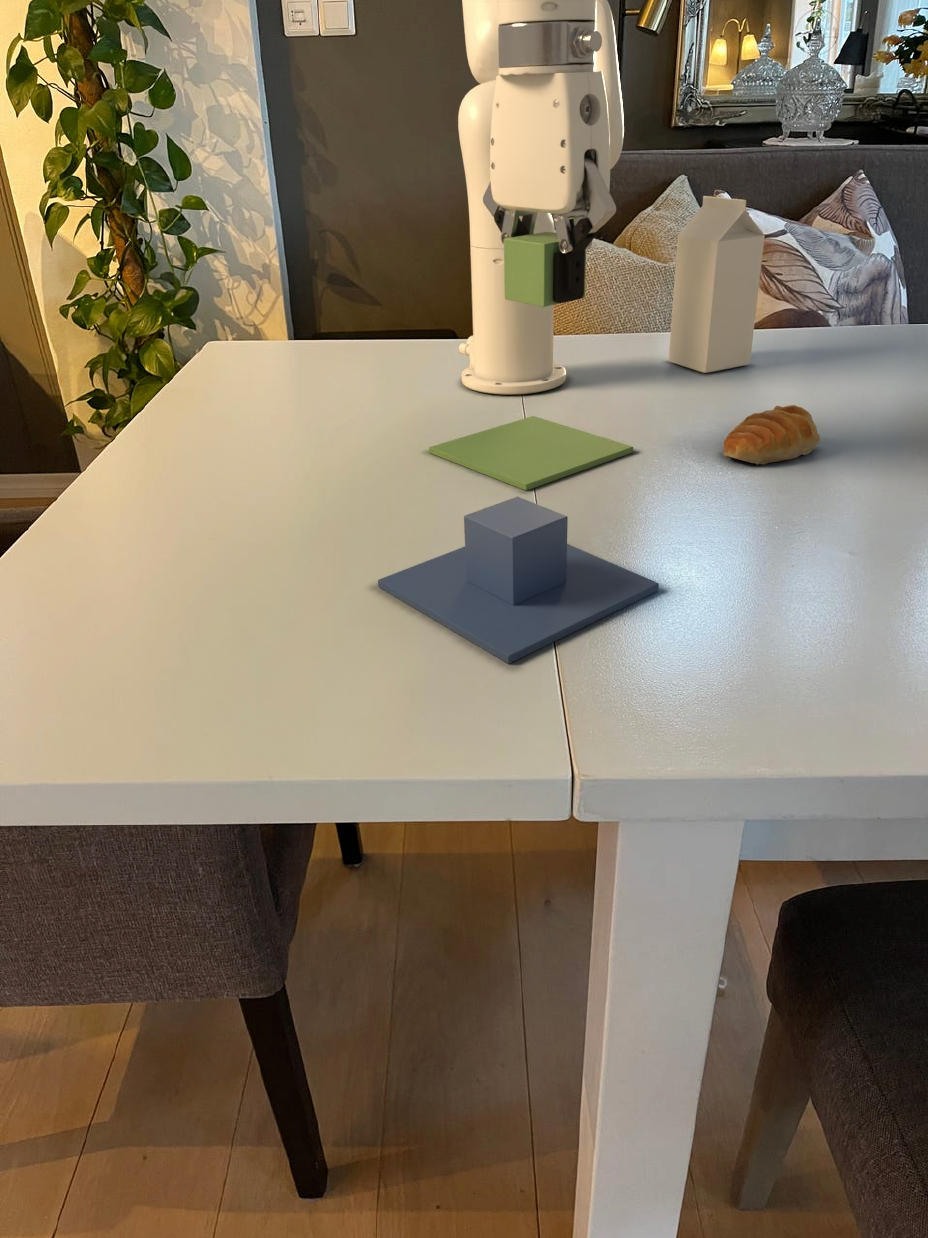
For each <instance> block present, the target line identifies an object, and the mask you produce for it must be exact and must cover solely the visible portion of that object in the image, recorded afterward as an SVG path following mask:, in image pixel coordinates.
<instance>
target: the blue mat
mask: <svg viewBox="0 0 928 1238" xmlns="http://www.w3.org/2000/svg"><path fill="white" fill-rule="evenodd" d="M377 585H378V588H379V589H381V590H382V591H384V592H386V593H387V594H389V595H391V596H393V597H394V598H396V599H397V600H400V601H401V602H403V603H405V604H407V605H408V606H410V607H412V608H413V609H415V610H417V611H418V612H420V613H422V614H424V615H425V616H427V617H428V618H429V619H432V620H434V621H435V622H436V623H439V624H440V625H442V626H443V627H445V628H447V629H448V630H450V631H452V632H454V633H456V634H457V635H459V636H461V637H462V638H464V639H465V640H467V641H469V642H470V643H472V644H474V645H476V646H478V647H479V648H481V649H483V650H484V651H486V652H488V653H490V654H491V655H493V656H494V657H496V658H498V659H500V661H503V662H504V663H506V664H509V665H510V664H511V663H513V662H516V661H518V660H520V659H522V658H523V657H526V656H528V655H530V654H532V653H534V652H537V651H538V650H540V649H543V648H544V647H546V646H548V645H550V644H552V643H555V642H556V641H558V640H561V639H562V638H564V637H567V636H568V635H571V634H573V633H574V632H577V631H579V630H581V629H584V628H585V627H586V626H589V625H591V624H593V623H595V622H597V621H600V620H602V619H604V618H606V617H607V616H609V615H611V614H614V613H615V612H618V611H620V610H622V609H624V608H626V607H627V606H630V605H632V604H634V603H636V602H638V601H640V600H643V599H644V598H646V597H648V596H650V595H652V594H654V593H656V592H658V591H659V589H660V583H659V582H657V581H655V580H652V579H650V578H648V577H646V576H643V575H640V574H639V573H636V572H634V571H631V570H629V569H627V568H624V567H622V566H620V565H618V564H615V563H612V562H610V561H608V560H606V559H603V558H602V557H599V556H597V555H594V554H592V553H589V552H588V551H585V550H582V549H580V548H578V547H576V546H573V545H571V544H568V543H567V574H566V582H565V583H563V584H561V585H558V586H556V587H554V588H552V589H549V590H547V591H545V592H543V593H541V594H538V595H536V596H534V597H532V598H529V599H527V600H525V601H523V602H520V603H518V604H516V605H512V604H510V603H508V602H506V601H504V600H502V599H500V598H498V597H496V596H495V595H493V594H491V593H489V592H487V591H485V590H483V589H481V588H479V587H477V586H475V585H474V584H472V583H470V582H468V581H467V580H466V558H465V546H461V547H459V548H456V549H454V550H452V551H449V552H447V553H443V554H441V555H439V556H436V557H433V558H431V559H429V560H426V561H423V562H421V563H418V564H415V565H413V566H410V567H408V568H405V569H402V570H400V571H398V572H394V573H393V574H389V575H387V576H384V577H382V578H379V579H377Z"/></svg>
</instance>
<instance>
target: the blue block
mask: <svg viewBox="0 0 928 1238" xmlns="http://www.w3.org/2000/svg"><path fill="white" fill-rule="evenodd" d="M568 521H569V519H568V515H565V514H563V513H560V512H558V511H555V510H553V509H550V508H548V507H545V506H543V505H541V504H538V503H535V502H533V501H531V500H528V499H525V498H524V497H520V496H514V497H513V498H510V499H506V500H504V501H500V502H498V503H495V504H492V505H490V506H488V507H487V506H486V507H483V508H481V509H479V510H476V511H474V512H471V513H468V514H465V515H464V516H463V528H464V529H463V530H464V532H463V533H464V547H465V558H466V580H467V581H468V582H470V583H472V584H474V585H475V586H477V587H479V588H481V589H483V590H485V591H487V592H489V593H491V594H493V595H495V596H496V597H498V598H500V599H502V600H504V601H506V602H508V603H510V604H512V605H516V604H518V603H520V602H523V601H525V600H527V599H529V598H532V597H534V596H536V595H538V594H541V593H543V592H545V591H547V590H549V589H552V588H554V587H556V586H558V585H561V584H563V583H565V582H566V574H567V544H568V527H569V525H568V524H569V522H568Z"/></svg>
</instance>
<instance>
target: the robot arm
mask: <svg viewBox="0 0 928 1238" xmlns="http://www.w3.org/2000/svg"><path fill="white" fill-rule="evenodd" d="M461 2H462V3H461V5H462V16H463V28H464V41H465V51H466V57H467V61H468V62H467V63H468V66H469V68H470V72H471V74H472V76H473V78H474V79H475V81H476V82H477V83H478V85H476V86H474V87H473V88H471V89H470V90H469V91H468V92H467V93H466V94H465V95H464V97H463V99H462V101H461V103H460V105H459V110H458V115H457V123H458V124H457V127H458V128H457V129H458V137H459V144H460V151H461V156H462V163H463V169H464V175H465V183H466V192H467V203H468V217H469V218H468V219H469V241H470V243H469V244H470V276H471V307H472V308H471V309H472V310H471V311H472V335H470V336H469V337H467V340H466V343H465V342H462V343H460V344H459V346H458V352H459V354H461V355H463V356H469V366H467V367H466V368H465V369H463V370H462V372H461V383H462V385H463V386H465V387H466V388H467V389H469V390H472V391H476V392H480V393H485V394H494V395H527V394H536V393H541V392H546V391H549V390H553V389H557V388H558V387H560V386H562V385H563V384H564V383H565V382H566V380H567V370H566V368H565V367H564V366H562V365H561V364H558V363H556V362H554V325H555V323H554V322H555V321H554V316H555V314H554V313H555V311H554V310H555V305H550V306H546V307H542V306H537V305H532V304H527V303H522V302H516V301H511V300H506V299H505V285H504V239H505V238H511V237H517V236H523V235H529V234H535V233H541V232H552V233H556V234H557V240H558V246H559V250H560V252H557V253H554V261H553V300H554V302H555V303H559V304H565V303H570V302H575V301H577V300H581V299H584V298H583V296H584V275H585V250H586V251H588V250H590V249H591V248H592V245H593V240H594V239H595V238H596V236H597V235H598V234H599V233H600V231H601V229H602V227H603V226H604V225H606V224H607V223H608V222H609V221H610V220H611V218H613V216H614V215H615V214H616V213H617V206H616V203H615V201H614V199H613V196H612V195H611V193H610V190H611V189H610V187H611V185H610V184H611V170H612V169H613V168H614V167H615V165H616V164H617V162H618V161H619V159H620V157H621V154H622V150H623V144H624V133H625V126H624V123H625V122H624V120H625V119H624V107H623V98H622V97H623V95H622V89H621V88H622V87H621V79H620V70H619V60H618V59H619V58H618V50H617V40H616V31H615V24H614V19H613V13H612V9H611V6H610V3H609V0H461ZM570 220H573V228H571V223H570Z"/></svg>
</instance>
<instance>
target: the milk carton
mask: <svg viewBox="0 0 928 1238" xmlns="http://www.w3.org/2000/svg"><path fill="white" fill-rule="evenodd" d="M746 207H747V200H746V199H738V198H729V197H728V198H727V197H718V196H709V195H703V197H702V206H701V207H700V208H699V209H698V210H697V212H696V213H695V214H694V216H693V217H691V219H690V220H689V221H688V222H687V224H686V225H685V226H684V227H683V228H682V229H681V231H680V232H679V233H678V234H677V241H676V255H675V268H674V279H673V281H674V282H673V283H674V284H673V295H672V296H673V297H672V308H671V309H672V310H671V323H670V335H669V336H670V337H669V348H668V350H669V351H668V362H670V363H673V364H675V365H678V366H682V367H685V368H688V369H692V370H694V371H697V372H701V373H705V374H707V373H713V372H718V371H722V370H728V369H734V368H737V367H743V366H747V365H750V364H751V357H752V349H753V340H754V332H755V323H756V314H757V306H758V297H759V288H760V281H761V272H762V262H763V255H764V248H765V246H764V245H765V238H766V237H765V236H766V235H765V234H764V232H763V231H762V230H761V229H760V227H759V226H758V224H757V223H756V222H755V221H754V220H753V218H752V217H751V216H750V214H749V213H748V212H747V211H746V209H747V208H746Z"/></svg>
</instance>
